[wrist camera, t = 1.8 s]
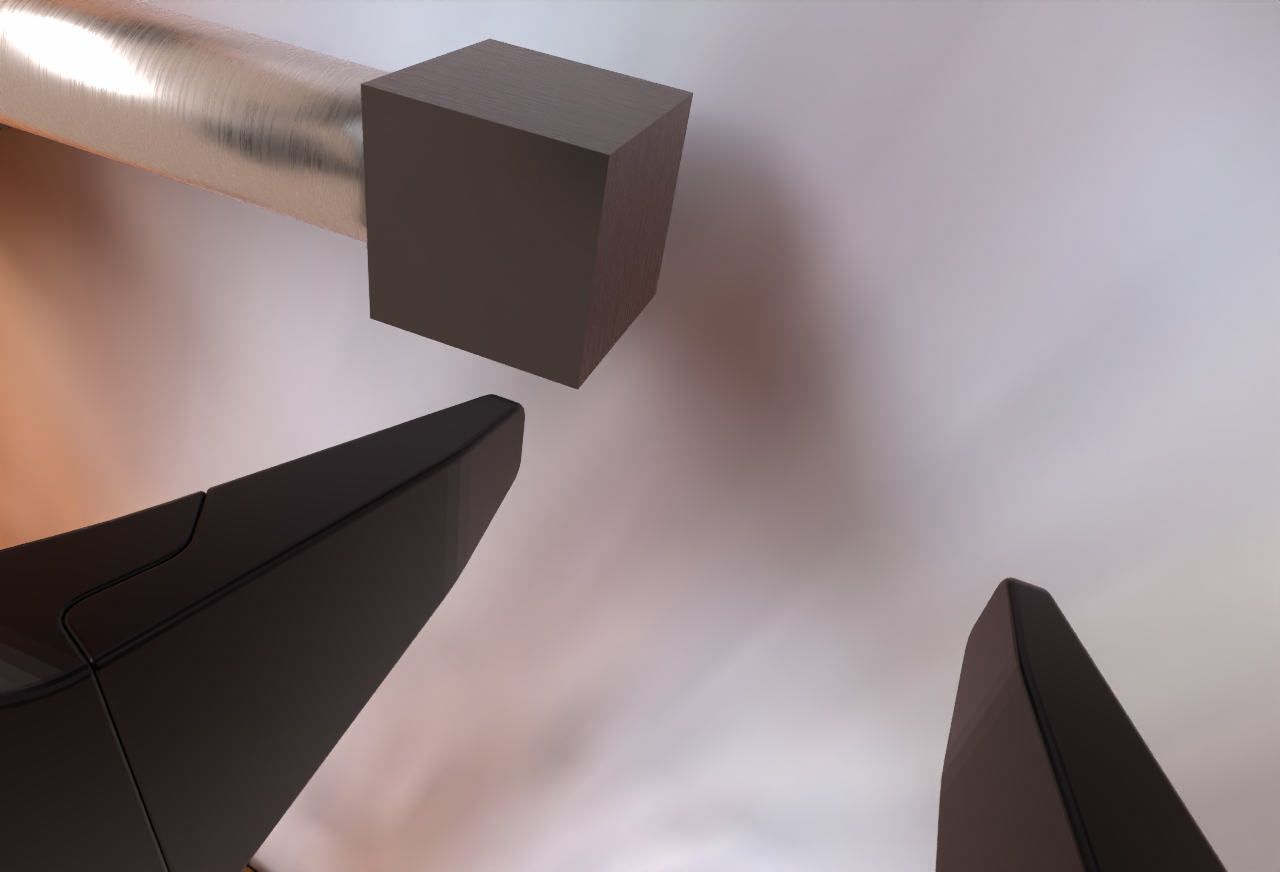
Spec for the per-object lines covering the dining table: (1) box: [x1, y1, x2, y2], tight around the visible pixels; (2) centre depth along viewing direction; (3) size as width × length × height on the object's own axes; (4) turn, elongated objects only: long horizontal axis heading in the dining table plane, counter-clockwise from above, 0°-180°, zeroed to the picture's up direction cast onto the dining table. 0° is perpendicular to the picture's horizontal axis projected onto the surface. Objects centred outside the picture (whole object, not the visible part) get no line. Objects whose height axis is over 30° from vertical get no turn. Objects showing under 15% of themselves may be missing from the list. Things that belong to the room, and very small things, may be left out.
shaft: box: [0, 0, 693, 389], centre depth 17 cm, size 22×4×4 cm, turn 80°
